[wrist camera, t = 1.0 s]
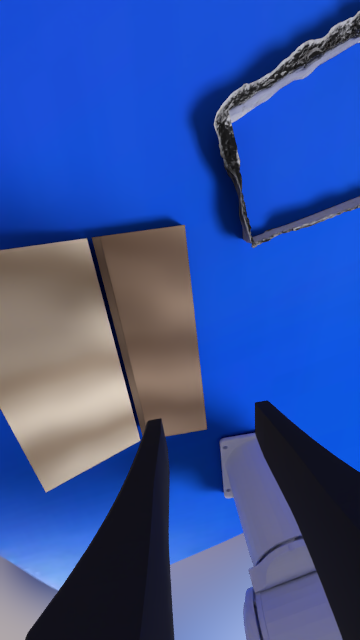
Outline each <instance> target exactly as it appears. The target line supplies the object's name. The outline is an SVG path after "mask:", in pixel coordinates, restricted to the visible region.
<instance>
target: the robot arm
mask: <svg viewBox="0 0 360 640" xmlns="http://www.w3.org/2000/svg"><path fill="white" fill-rule="evenodd" d="M220 453H221V465H222V477H223V488H224V496H225V497H226V498H233V497H234V500H235V504H236V507H237V511H238V514H239V518H240V522H241V525H242V529H243V532H244V536H245V539H246V543H247V546H248V550H249V553H250V557H251V559H252V562H253V566H254V567H252V568H251V569H249V574H250V577H251V581H252V585H253V587H251V588H249V589H247V591H246V597H245V603H244V611H243V614H244V626H245V633H246V639H247V640H360V472H358V471H357V470H355V469H354V468H352V467H351V466H349V465H348V464H346V463H345V462H343V461H342V460H340V459H339V458H338V457H336V456H335V455H333V454H332V453H331V452H329V451H328V450H327V449H325V448H324V447H323V446H321V445H320V444H319V443H317V442H316V441H315V440H313V439H312V438H311V437H310V436H308V435H307V434H306V433H305V432H303V431H302V430H301V429H300V428H299V427H297V426H296V425H295V424H294V423H293V422H291V421H290V420H289V419H288V418H287V417H286V416H285V415H283V414H282V413H281V412H280V411H279V410H278V409H277V408H276V407H274V406H273V405H272V404H271V403H270V402H269V401H262V402H256V403H255V433H250V434H244V435H238V436H233V437H227V438H222V439H221V440H220ZM168 529H169V459H168V448H167V443H166V438H165V433H164V428H163V424H162V419H161V418H160V419H154V420H149V421H148V422H147V423H146V427H145V431H144V434H143V437H142V440H141V443H140V446H139V449H138V451H137V454H136V456H135V459H134V461H133V464H132V466H131V468H130V471H129V473H128V475H127V477H126V479H125V481H124V484H123V486H122V488H121V490H120V492H119V494H118V496H117V498H116V500H115V502H114V504H113V505H112V507H111V509H110V511H109V513H108V515H107V516H106V518H105V520H104V522H103V523H102V525H101V527H100V528H99V530H98V532H97V534H96V535H95V537H94V539H93V540H92V542H91V543H90V545H89V547H88V548H87V550H86V551H85V553H84V554H83V556H82V557H81V559H80V560H79V562H78V563H77V565H76V566H75V568H74V569H73V571H72V572H71V574H70V575H69V577H68V578H67V580H66V581H65V583H64V584H63V586H62V587H61V588H60V590H59V591H58V593H57V594H56V595H55V597H54V598H53V599H52V601H51V602H50V603H49V605H48V606H47V607H46V609H45V610H44V612H43V613H42V614H41V616H40V617H39V619H38V620H37V621H36V623H35V624H34V625H33V627H32V628H31V629H30V631H29V632H28V634H27V636H26V639H25V640H174V628H173V613H172V598H171V597H172V596H171V580H170V561H169V533H168Z"/></svg>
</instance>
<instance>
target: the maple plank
mask: <svg viewBox="0 0 360 640" xmlns="http://www.w3.org/2000/svg"><path fill="white" fill-rule="evenodd" d="M0 409H1V410H2V412H3V414H4V416H5V418H6V420H7V421H8V423H9V425H10V427H11V429H12V431H13V432H14V434H15V436H16V438H17V440H18V442H19V444H20V445H21V447H22V449H23V451H24V453H25V455H26V456H27V458H28V460H29V462H30V464H31V466H32V468H33V469H34V471H35V473H36V475H37V477H38V479H39V480H40V482H41V484H42V486H43V488H44V490H45V491H46V492H48V491H50V490H51V489H53V488H55V487H57V486H59V485H61V484H62V483H64V482H66V481H68V480H70V479H71V478H73V477H75V476H77V475H79V474H81V473H82V472H84V471H86V470H88V469H90V468H91V467H93V466H95V465H97V464H99V463H100V462H102V461H104V460H106V459H108V458H110V457H111V456H113V455H115V454H117V453H119V452H120V451H122V450H124V449H126V448H128V447H130V446H131V445H133V444H135V443H137V442H139V441H140V437H139V433H138V430H137V426H136V422H135V418H134V415H133V411H132V407H131V403H130V399H129V396H128V392H127V388H126V384H125V380H124V377H123V373H122V369H121V365H120V362H119V358H118V354H117V350H116V346H115V343H114V339H113V335H112V331H111V328H110V324H109V320H108V316H107V312H106V309H105V305H104V301H103V297H102V293H101V290H100V286H99V282H98V278H97V275H96V271H95V267H94V263H93V259H92V256H91V252H90V248H89V244H88V240H87V238H85V239H78V240H70V241H63V242H56V243H49V244H42V245H34V246H27V247H20V248H13V249H6V250H0Z"/></svg>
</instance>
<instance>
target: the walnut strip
mask: <svg viewBox="0 0 360 640" xmlns="http://www.w3.org/2000/svg"><path fill="white" fill-rule="evenodd" d="M92 241H93V245H94V248H95V252H96V256H97V260H98V264H99V268H100V272H101V276H102V280H103V283H104V287H105V291H106V295H107V299H108V303H109V307H110V311H111V315H112V319H113V322H114V326H115V330H116V334H117V338H118V342H119V346H120V350H121V354H122V358H123V361H124V365H125V369H126V373H127V377H128V381H129V385H130V389H131V393H132V397H133V400H134V404H135V408H136V412H137V416H138V420H139V424H140V428H141V432H142V436H143V434H144V431H145V427H146V423H147V422H148V421H149V420H154V419H160V418H161V419H162V424H163V428H164V433H165V436H171V435H177V434H183V433H189V432H195V431H200V430H206V429H207V424H206V415H205V406H204V397H203V388H202V379H201V369H200V360H199V351H198V342H197V333H196V324H195V315H194V306H193V297H192V288H191V278H190V269H189V260H188V251H187V242H186V233H185V225H180V226H172V227H165V228H158V229H150V230H143V231H136V232H129V233H121V234H114V235H107V236H99V237H93V238H92Z"/></svg>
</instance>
